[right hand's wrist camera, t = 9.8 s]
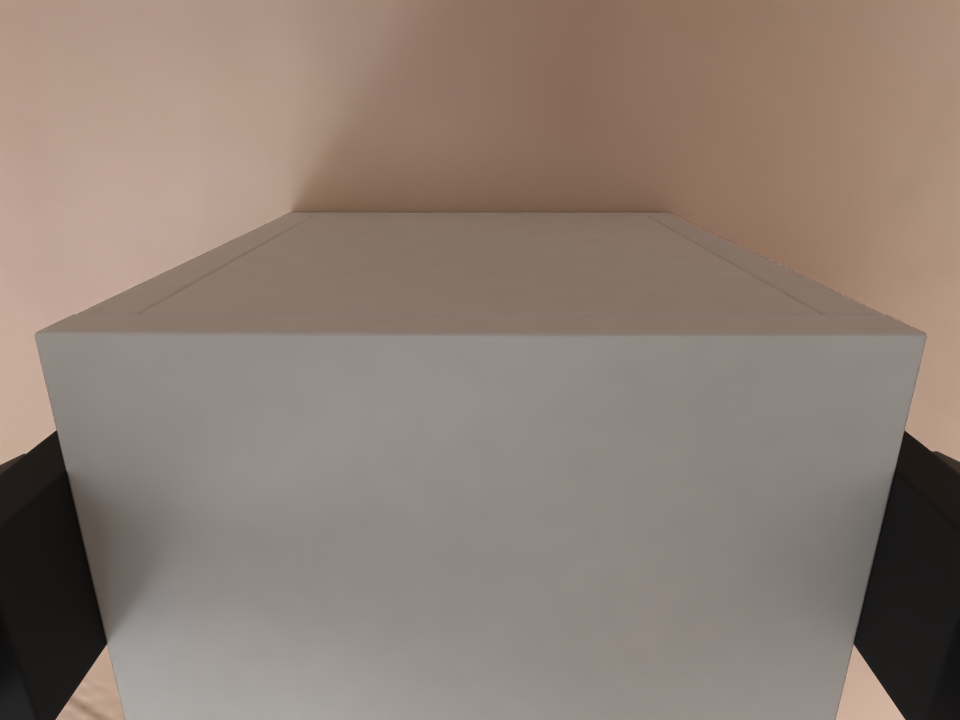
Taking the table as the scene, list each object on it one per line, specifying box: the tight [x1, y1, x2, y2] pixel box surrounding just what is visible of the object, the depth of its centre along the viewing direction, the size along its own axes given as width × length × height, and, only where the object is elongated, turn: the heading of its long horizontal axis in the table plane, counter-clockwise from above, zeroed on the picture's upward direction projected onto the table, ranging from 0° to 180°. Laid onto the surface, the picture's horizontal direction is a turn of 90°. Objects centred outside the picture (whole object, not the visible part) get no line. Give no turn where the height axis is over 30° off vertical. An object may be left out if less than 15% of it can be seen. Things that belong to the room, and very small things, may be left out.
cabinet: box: [35, 212, 927, 720], centre depth 16 cm, size 21×10×11 cm, turn 0°
